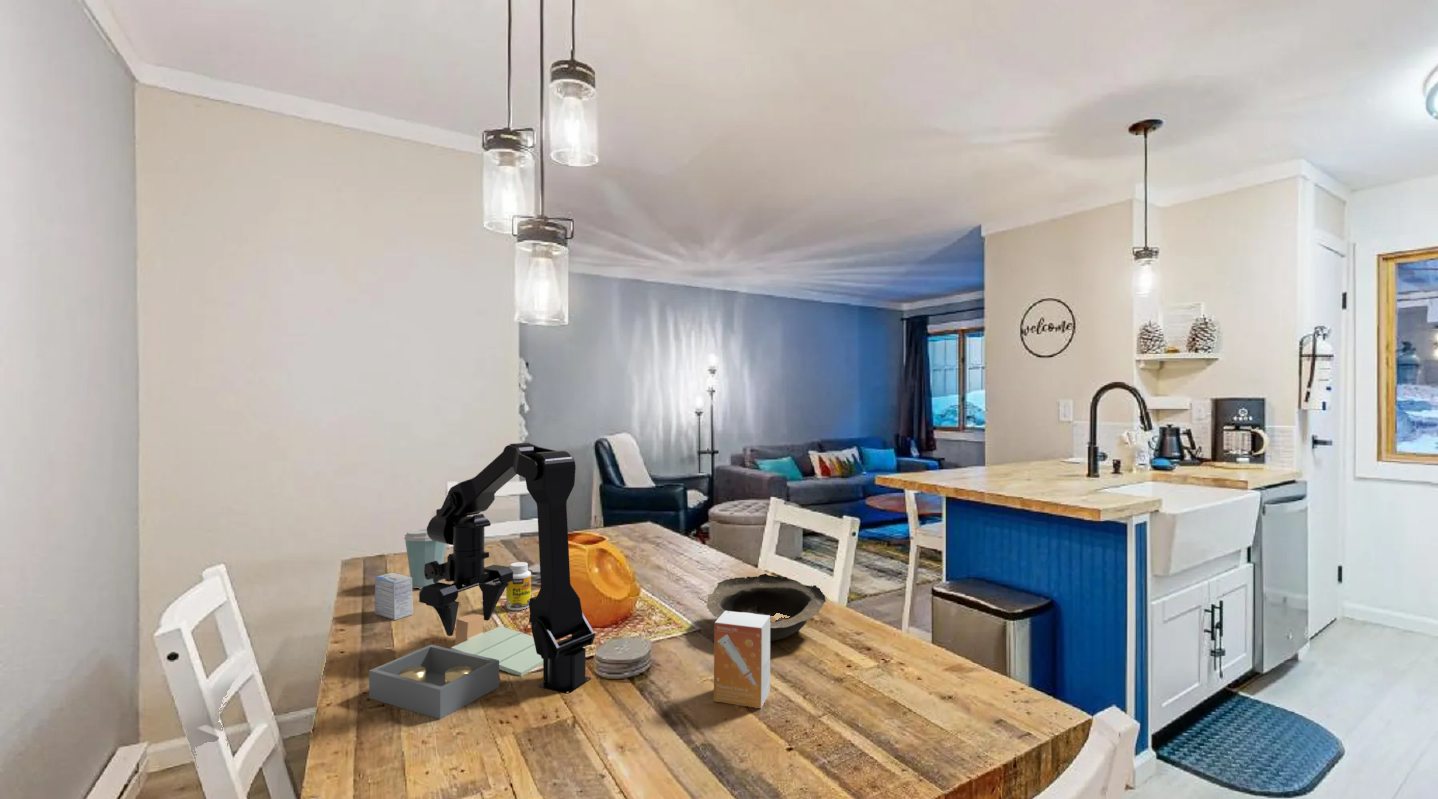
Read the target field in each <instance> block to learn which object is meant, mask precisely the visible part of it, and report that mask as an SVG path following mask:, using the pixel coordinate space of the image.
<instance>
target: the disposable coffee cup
mask: <svg viewBox="0 0 1438 799" xmlns="http://www.w3.org/2000/svg"><path fill="white" fill-rule="evenodd" d="M404 541H405V548H406V554H407V563H408V569H409V577H411V578H412V589H414V588H419V589H418V590H421V589H422V588H423V587H424V586H427V585H431V584H434V583H433V579H430V580H427V579H426V578H425V574H424V567H425V564H427V563H429V562H433V561H438V563H439V564H443V563H445V561H444V560H445V557H446V556H445V555H446V550H447V545H448V544H445V543H441V542H436V541H433V540H432V539H430V538H429V536H428V534H427V527H426V528H420V529H414V530H410V531H409V532H407V533H406V534H405V535H404ZM438 582H440V583H441V580H439V581H438ZM436 583H437V582H436Z"/></svg>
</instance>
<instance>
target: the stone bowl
mask: <svg viewBox="0 0 1438 799" xmlns="http://www.w3.org/2000/svg"><path fill="white" fill-rule="evenodd" d="M713 590H714V592H713V593H712V592H711V593H709V594H708V597H707V603H706V608H707V610H708V611H709V612H710V613H711V615H712V616H713V617H716V618H719V617H720V616H721V615H722V614H723V612H725V611H732V612H745V613H753V614H760V615H770V616H774V615H775V614H776V613H780V614H783V615H787V616H790V617H789V618H785V617H784V618H782V617H781V618H779V619H778V620H776V621H775V622H770V642H774V641H779V640H782V639H783V640H784V639H786V638H788V637H789V636H792V635H793V634H795V633H796V632H798V631H799V630H801V629H802V628H804V627H805V625H806V624H807V622H808V621H809V620H810V619H812V618H813V617H815V616H816V615H817V614H818V613H819V612H820V611H821V609H822V608H823V607H824V604H825V603H826V602H827V601H826V595H825V594H824V593H823V592H822V589H821V588H820V587H818V586H817V585H803V584H801V582H800V581H798V580H796V579H791V578H788V577H787V576H783V577H782V576H781V575H776V576H775V575H771V574H770V575H769V574H767V573H762V574H759V575H758V576H756V575H755V576H748V575H747V576H746V577H744V576H742V577H734V578H729V579H727V578H726V579H724V580H722V581H719V582H717V586H716V587H715V588H714V589H713Z"/></svg>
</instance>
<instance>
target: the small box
mask: <svg viewBox="0 0 1438 799" xmlns="http://www.w3.org/2000/svg"><path fill="white" fill-rule="evenodd" d="M770 618H771V616H770V615H760V614H753V613H745V612H732V611H725V612H723V614H722V615H721V616H720V617H717V619H716V621H714V629H713V630H714V632H713V633H714V635H713V636H714V641H713V642H714V644H713V701H714V702H715V703H724V704H729V705H736V706H743V707H747V706H748V708H753V707H754V709H757V708H761V709H762V708H763V706H764V704H765V702H766V700H767V698H768V695H769V694H770V691H771V641H770Z"/></svg>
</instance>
